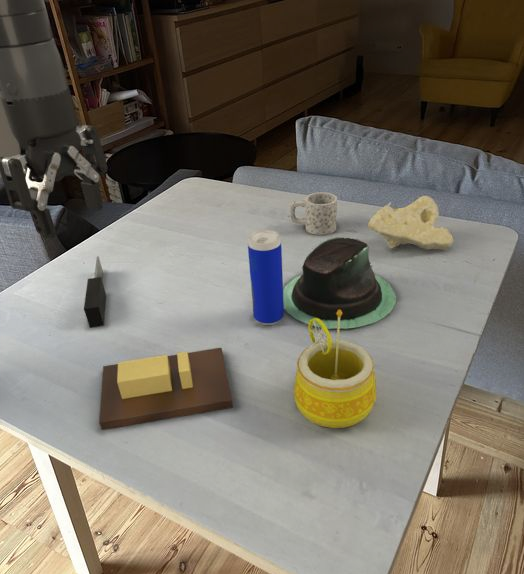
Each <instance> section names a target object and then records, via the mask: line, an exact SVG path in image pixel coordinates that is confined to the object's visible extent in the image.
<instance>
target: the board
mask: <svg viewBox="0 0 524 574" xmlns="http://www.w3.org/2000/svg"><path fill="white" fill-rule="evenodd" d="M167 356H168V361H169V365H170V370H171V380H172V391H168V392H162V393H156V394H150V395H144V396H138V397H132V398H126V399H122V397H121V393H120V390H119V387H118V383H117V376H118V363H115V364H109V365H103V367H102V377H101V378H102V379H101V392H100V402H99V403H100V405H99V418H98V424H99V426H100V430H101V431H102V430H103V431H104V430H109V429H115V428H120V427H127V426H133V425H138V424H143V423H149V422H156V421H161V420H167V419H173V418H174V419H175V418H178V417H185V416H191V415H196V414H202V413H208V412H214V411H219V410H227V409H230V408H231V409H232V408H234V403H233V402H234V401H233V397H232V392H231V391H232V390H231V386H230V381H229V377H228V373H227V372H228V371H227V368H226V362H225V357H224V353H223V348H222V347H215V348H209V349H203V350H196V351H191V352H188V357H189V363H190V369H191V376H192V384H193V387H192V388H186V389H182V385H181V380H180V375H179V368H178V358H177V354H172V355H167Z"/></svg>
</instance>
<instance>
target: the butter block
mask: <svg viewBox="0 0 524 574" xmlns="http://www.w3.org/2000/svg"><path fill="white" fill-rule="evenodd" d="M168 356H169V355H168V354H163V355H156V356H149V357H142V358H136V359H130V360H125V361H118V362H117V364H118V376H117V383H118V387H119V390H120V393H121V397H122V399H126V398H132V397H138V396H144V395H150V394H156V393H162V392H168V391H172V380H171V370H170V365H169V361H168Z"/></svg>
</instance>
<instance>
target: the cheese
mask: <svg viewBox="0 0 524 574" xmlns="http://www.w3.org/2000/svg"><path fill="white" fill-rule="evenodd" d="M391 204H392V202H389V203H388V204H387V205H386V204H385V205H384V206H383V207H382V208H380V209H379V210H376V213H375V214H374V215H373V216H372V217H370V219H369V222H368V224H367V226H368V228H369V229H370V230H371V231H374V232H376V233H378V234H379V235H381V236H382V237H383V239H384V240H385V241H386V244H387V246H388V247H389V249H390V250H394V248H396V247H398V246H399V245H406V244H411V245H415V246H417V247H418V248H420V249H424V250H426V251H427V250H446V249H448V248H449V247H451V246H452V245H453V243H454V238H453V235H452V234H451V233H450V232H449V230H448V229H447V228H444V227H443V226H440V227H436V223H437V222H438V219H439V217H440V215H439V214H440V211H439V207H438V205H437V203H436V202H435V200H434V199H433V198H432V197H430V196H428V195H422V196H420V197H419V198H417V199H416V200H414V201H413V202H412V203H410V204H408V205H406V206H404V207H398V208H396V209H393V207H391V206H390V205H391Z"/></svg>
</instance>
